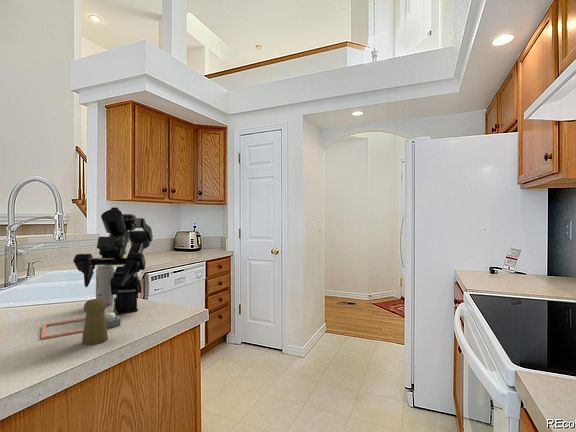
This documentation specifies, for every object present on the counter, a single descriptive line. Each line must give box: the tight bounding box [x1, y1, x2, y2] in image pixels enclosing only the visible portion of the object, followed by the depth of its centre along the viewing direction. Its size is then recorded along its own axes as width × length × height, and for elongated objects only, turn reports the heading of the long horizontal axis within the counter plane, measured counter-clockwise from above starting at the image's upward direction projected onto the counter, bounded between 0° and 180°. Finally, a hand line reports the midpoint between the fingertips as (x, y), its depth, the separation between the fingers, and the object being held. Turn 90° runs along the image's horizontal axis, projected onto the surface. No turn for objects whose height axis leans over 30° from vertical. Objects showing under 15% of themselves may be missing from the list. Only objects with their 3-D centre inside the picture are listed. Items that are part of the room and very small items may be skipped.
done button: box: [105, 312, 116, 321], centre depth 96 cm, size 3×3×2 cm
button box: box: [106, 314, 121, 329], centre depth 96 cm, size 5×5×2 cm
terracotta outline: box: [40, 316, 86, 341], centre depth 94 cm, size 13×13×1 cm
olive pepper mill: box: [81, 298, 109, 346], centre depth 84 cm, size 6×6×11 cm
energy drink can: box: [95, 265, 115, 307], centre depth 119 cm, size 6×6×15 cm
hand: (103, 285), depth 90 cm, fingers open, 9 cm apart
